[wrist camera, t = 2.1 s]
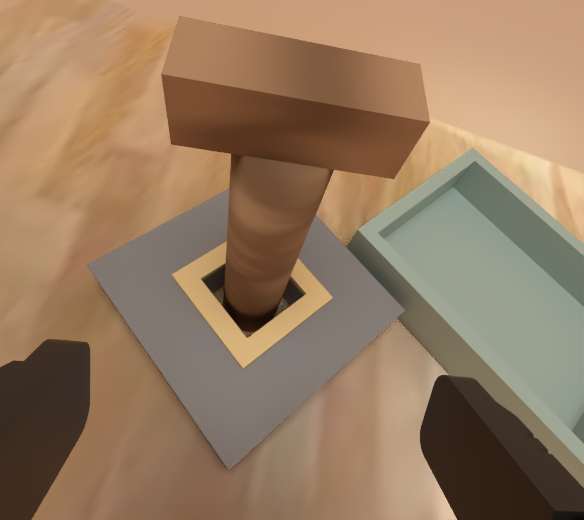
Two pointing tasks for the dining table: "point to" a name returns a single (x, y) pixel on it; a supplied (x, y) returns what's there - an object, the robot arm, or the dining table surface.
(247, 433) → the plate
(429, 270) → the tray
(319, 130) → the t key
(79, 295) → the dining table surface
